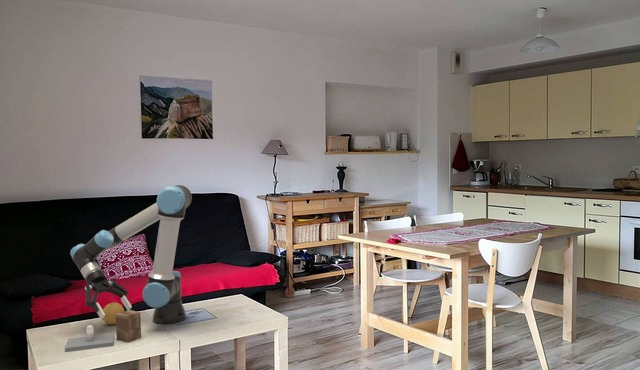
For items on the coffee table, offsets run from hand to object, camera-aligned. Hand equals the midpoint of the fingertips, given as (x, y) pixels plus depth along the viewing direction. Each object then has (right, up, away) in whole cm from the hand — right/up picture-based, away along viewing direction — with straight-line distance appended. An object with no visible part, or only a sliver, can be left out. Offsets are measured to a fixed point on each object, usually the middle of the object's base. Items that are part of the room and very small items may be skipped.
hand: (116, 312), depth 230 cm
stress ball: (-9, -10, +19) cm, 24 cm away
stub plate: (-8, -11, -8) cm, 16 cm away
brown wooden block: (+6, -10, -2) cm, 12 cm away
